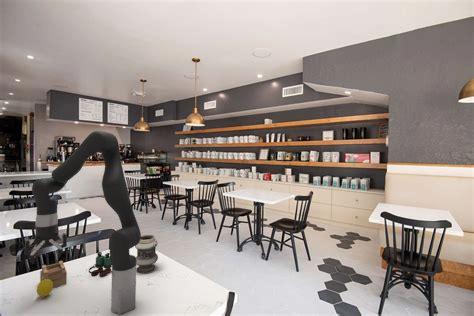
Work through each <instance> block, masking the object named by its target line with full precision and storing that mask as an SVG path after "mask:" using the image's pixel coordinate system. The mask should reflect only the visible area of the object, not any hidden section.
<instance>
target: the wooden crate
mask: <svg viewBox="0 0 474 316" xmlns="http://www.w3.org/2000/svg"><path fill="white" fill-rule="evenodd" d="M67 273H68V272H67V269H66V266H65V264H64V262H63V260H60V261H58V262H56V263H52V264H49V265H46V264H44V265H41V270H40V273H39V274H40V275H39V277H40V278H39V280H40V281H39V283H40V282H41V281H42V280H44V279H50V280H51V281H52V282H53V289H55V288H59V287H62V286H66V285H67V283H68V282H67V277H68V275H67Z"/></svg>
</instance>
